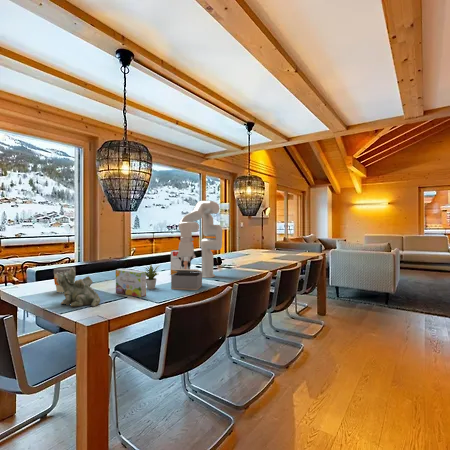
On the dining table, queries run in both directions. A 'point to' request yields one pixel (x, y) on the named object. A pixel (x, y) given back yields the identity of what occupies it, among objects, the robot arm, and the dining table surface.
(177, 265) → the hard drive box
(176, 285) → the carton
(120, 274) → the snack box
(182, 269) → the flap
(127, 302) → the dining table surface
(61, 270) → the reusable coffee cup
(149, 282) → the house plant
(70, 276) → the sculpture
